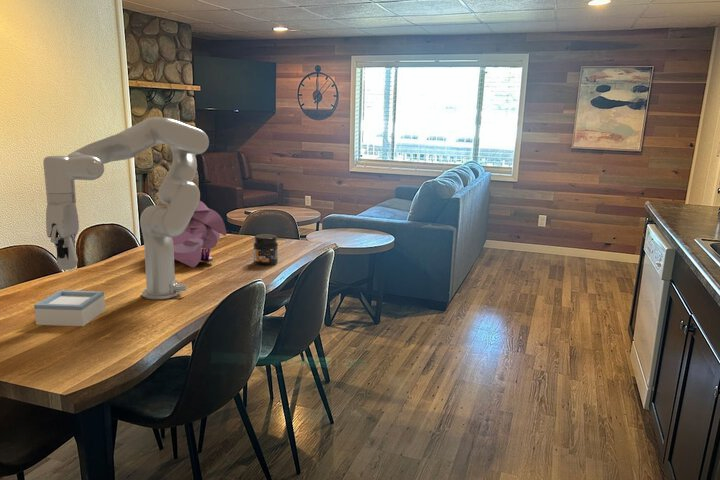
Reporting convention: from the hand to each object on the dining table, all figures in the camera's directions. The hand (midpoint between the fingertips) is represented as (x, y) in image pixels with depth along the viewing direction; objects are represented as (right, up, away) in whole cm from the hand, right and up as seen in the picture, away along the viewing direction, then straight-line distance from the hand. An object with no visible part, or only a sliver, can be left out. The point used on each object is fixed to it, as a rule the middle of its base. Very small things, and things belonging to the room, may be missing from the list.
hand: (66, 257), depth 162 cm
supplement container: (+47, -5, +73) cm, 87 cm away
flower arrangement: (+14, -4, +73) cm, 74 cm away
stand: (-1, -18, +4) cm, 19 cm away
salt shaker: (0, -3, +1) cm, 3 cm away
